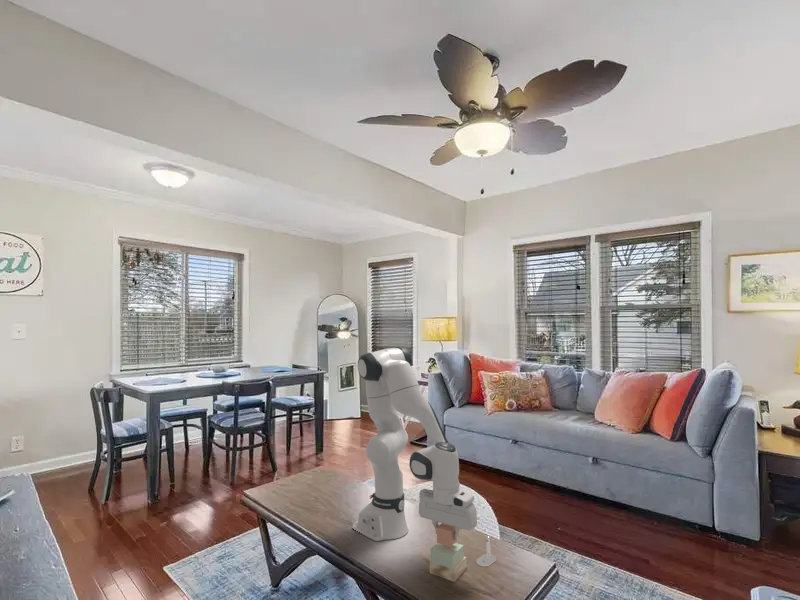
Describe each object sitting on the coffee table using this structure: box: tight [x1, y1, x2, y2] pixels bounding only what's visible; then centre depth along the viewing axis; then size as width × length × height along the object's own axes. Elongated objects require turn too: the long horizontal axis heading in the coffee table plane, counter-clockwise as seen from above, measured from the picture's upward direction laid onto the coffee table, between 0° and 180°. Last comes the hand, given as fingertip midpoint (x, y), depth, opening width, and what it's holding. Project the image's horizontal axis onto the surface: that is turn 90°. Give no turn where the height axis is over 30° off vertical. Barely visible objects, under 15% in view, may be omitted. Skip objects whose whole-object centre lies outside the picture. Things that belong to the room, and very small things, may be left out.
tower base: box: [429, 555, 468, 582], centre depth 144 cm, size 9×9×4 cm
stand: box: [475, 535, 497, 567], centre depth 149 cm, size 8×5×8 cm
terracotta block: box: [436, 522, 459, 547], centre depth 144 cm, size 5×5×5 cm
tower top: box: [429, 542, 465, 569], centre depth 144 cm, size 8×8×4 cm
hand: (447, 536), depth 144 cm, fingers closed on terracotta block, 5 cm apart
